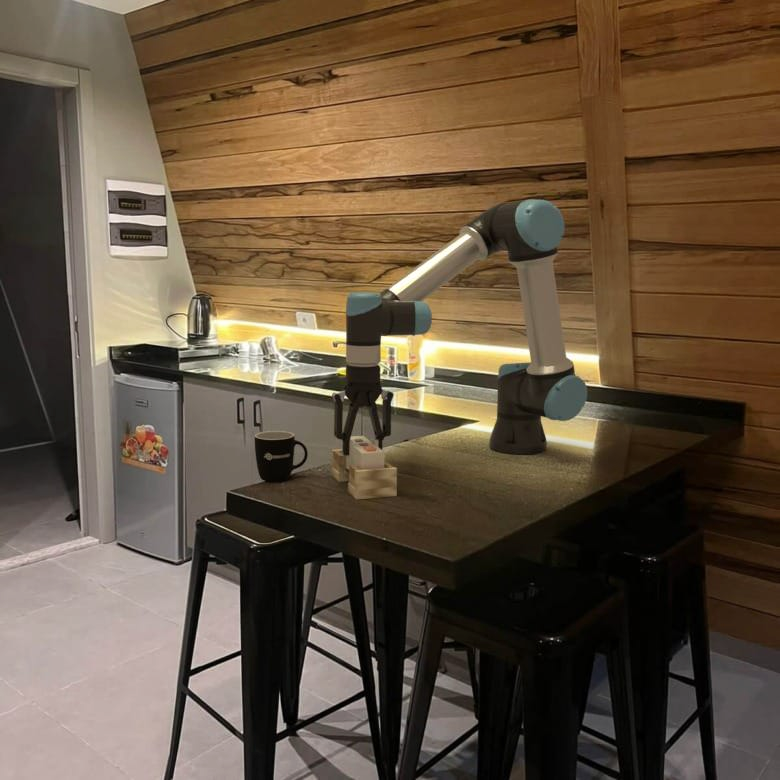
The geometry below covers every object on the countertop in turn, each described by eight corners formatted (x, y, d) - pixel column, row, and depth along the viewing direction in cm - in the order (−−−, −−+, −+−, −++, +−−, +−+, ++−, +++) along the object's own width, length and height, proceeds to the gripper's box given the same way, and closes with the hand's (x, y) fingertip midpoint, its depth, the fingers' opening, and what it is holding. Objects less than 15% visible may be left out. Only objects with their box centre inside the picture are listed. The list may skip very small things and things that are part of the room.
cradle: (368, 472, 188) (368, 447, 187) (396, 495, 169) (396, 468, 168) (331, 475, 185) (331, 449, 184) (355, 499, 166) (355, 471, 165)
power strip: (362, 461, 185) (363, 433, 184) (384, 479, 170) (384, 449, 169) (341, 462, 183) (342, 434, 182) (361, 481, 168) (361, 451, 167)
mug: (257, 485, 176) (257, 440, 175) (253, 474, 185) (252, 431, 183) (311, 481, 180) (311, 437, 178) (304, 471, 188) (303, 429, 186)
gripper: (396, 360, 179) (395, 461, 183) (318, 363, 173) (318, 467, 177) (408, 365, 172) (406, 469, 176) (327, 367, 166) (326, 475, 170)
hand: (362, 468), depth 176 cm, fingers closed on power strip, 5 cm apart
